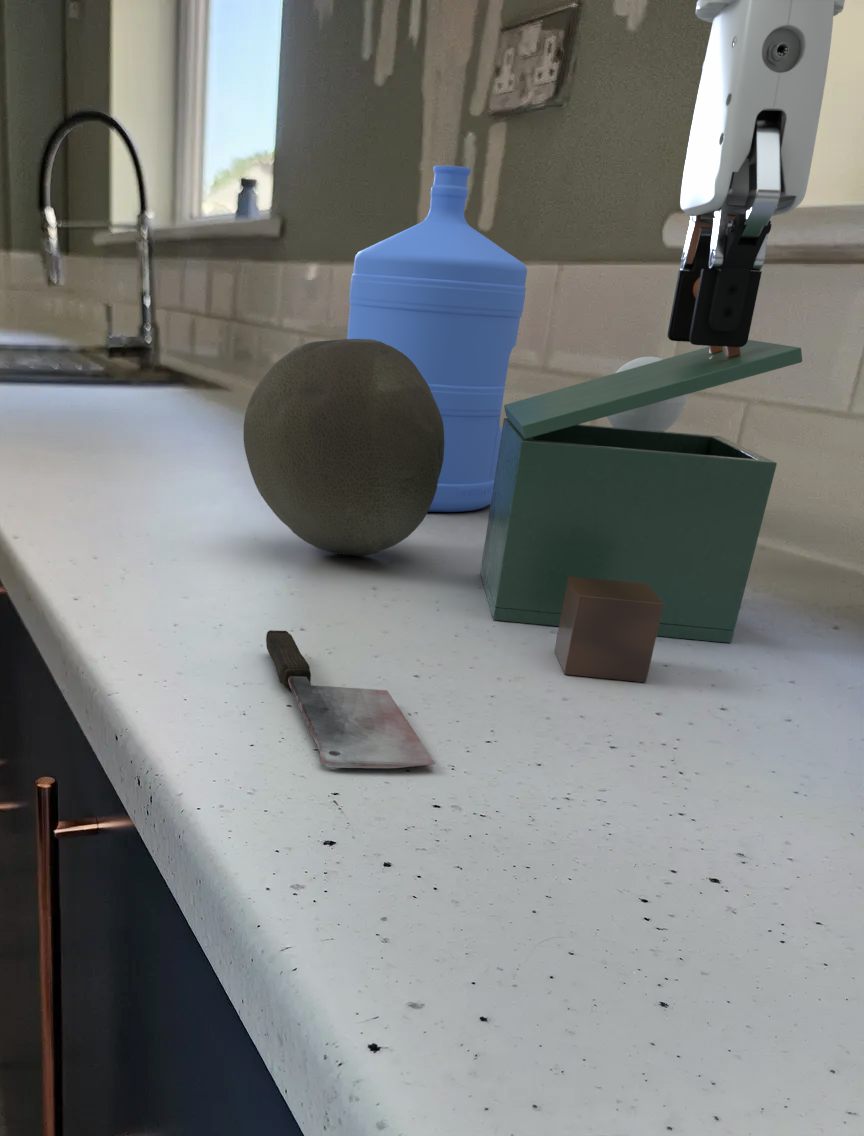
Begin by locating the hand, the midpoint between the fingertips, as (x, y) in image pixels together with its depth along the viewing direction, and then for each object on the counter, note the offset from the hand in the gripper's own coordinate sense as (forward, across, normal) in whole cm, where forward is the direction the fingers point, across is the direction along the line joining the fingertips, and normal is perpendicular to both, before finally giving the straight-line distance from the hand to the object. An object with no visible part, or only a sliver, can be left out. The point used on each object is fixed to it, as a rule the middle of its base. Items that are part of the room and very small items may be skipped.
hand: (705, 340), depth 68 cm
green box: (+17, 0, +4) cm, 17 cm away
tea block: (+17, -14, +6) cm, 23 cm away
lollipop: (+17, +17, 0) cm, 24 cm away
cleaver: (+16, -25, +20) cm, 36 cm away
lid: (+3, 0, +3) cm, 5 cm away
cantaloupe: (+16, +8, +22) cm, 28 cm away
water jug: (+16, +36, +16) cm, 43 cm away
